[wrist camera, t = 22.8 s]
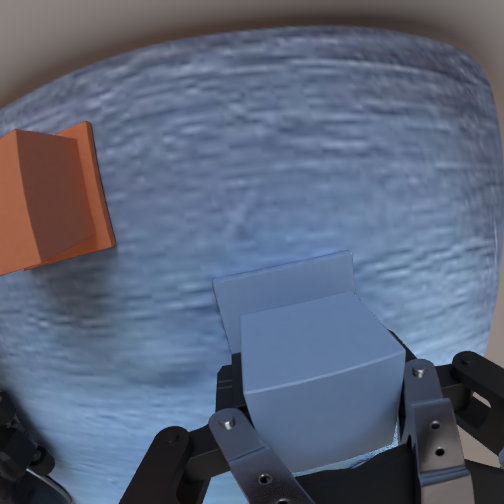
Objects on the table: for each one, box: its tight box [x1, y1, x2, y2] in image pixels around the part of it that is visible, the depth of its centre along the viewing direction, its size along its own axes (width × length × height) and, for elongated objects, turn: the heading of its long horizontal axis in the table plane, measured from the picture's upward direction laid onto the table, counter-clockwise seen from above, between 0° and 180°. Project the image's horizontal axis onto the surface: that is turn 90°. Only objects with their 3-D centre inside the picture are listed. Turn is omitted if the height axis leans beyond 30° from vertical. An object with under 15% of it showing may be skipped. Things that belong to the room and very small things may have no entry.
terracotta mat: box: [24, 121, 116, 271], centre depth 13 cm, size 6×6×1 cm
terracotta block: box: [0, 129, 96, 276], centre depth 10 cm, size 5×5×5 cm
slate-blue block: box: [240, 291, 406, 473], centre depth 11 cm, size 5×5×5 cm
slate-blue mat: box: [212, 250, 355, 354], centre depth 16 cm, size 7×7×1 cm
